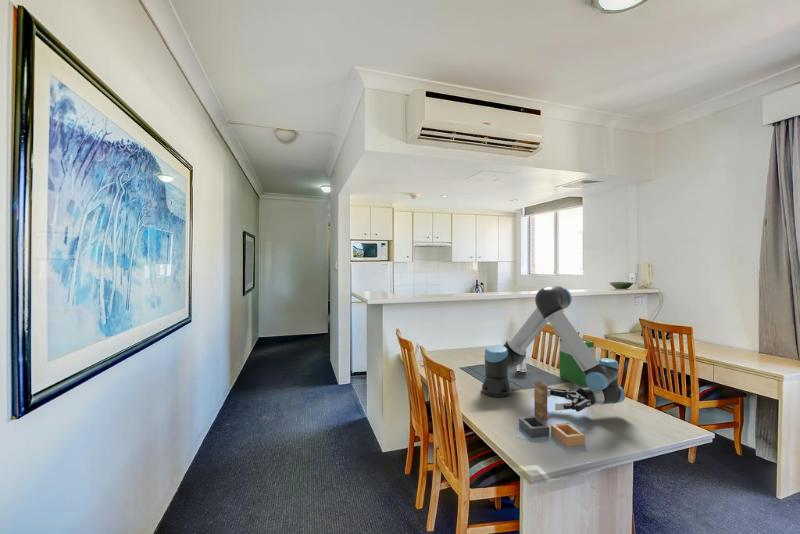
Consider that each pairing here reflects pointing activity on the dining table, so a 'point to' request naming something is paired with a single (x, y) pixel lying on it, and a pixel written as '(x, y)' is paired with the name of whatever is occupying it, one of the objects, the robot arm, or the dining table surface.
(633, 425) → the dining table surface
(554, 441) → the board
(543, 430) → the grey open box
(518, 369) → the beer glass
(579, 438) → the orange open box
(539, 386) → the oak slat
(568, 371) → the hardback book
